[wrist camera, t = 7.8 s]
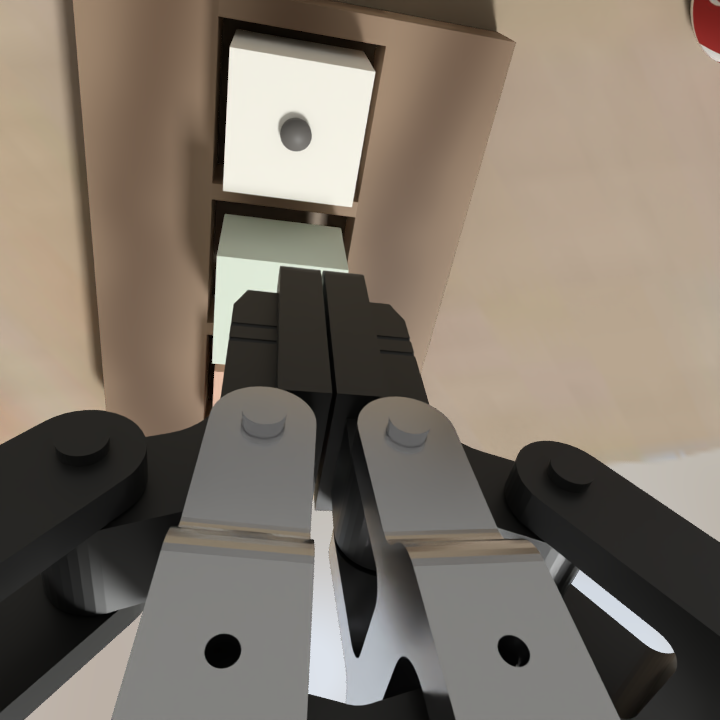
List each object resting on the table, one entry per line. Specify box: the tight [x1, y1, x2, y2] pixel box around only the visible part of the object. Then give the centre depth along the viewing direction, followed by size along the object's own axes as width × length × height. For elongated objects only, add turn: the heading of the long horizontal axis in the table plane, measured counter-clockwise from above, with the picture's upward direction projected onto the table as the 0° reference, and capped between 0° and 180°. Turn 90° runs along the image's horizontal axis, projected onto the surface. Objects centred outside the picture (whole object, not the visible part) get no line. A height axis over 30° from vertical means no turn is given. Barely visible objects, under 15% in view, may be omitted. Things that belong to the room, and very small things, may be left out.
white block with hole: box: [223, 29, 375, 207], centre depth 21 cm, size 4×4×4 cm
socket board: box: [73, 0, 516, 437], centre depth 26 cm, size 14×19×2 cm
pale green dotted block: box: [212, 214, 349, 364], centre depth 23 cm, size 4×4×4 cm
